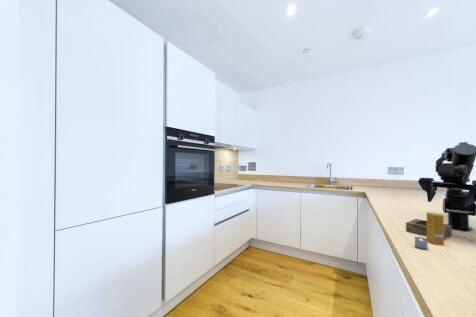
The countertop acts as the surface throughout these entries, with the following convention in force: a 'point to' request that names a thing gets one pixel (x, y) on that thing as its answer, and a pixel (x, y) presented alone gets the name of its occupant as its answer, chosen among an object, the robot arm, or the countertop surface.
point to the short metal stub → (421, 243)
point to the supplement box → (435, 228)
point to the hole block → (425, 228)
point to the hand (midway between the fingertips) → (445, 203)
